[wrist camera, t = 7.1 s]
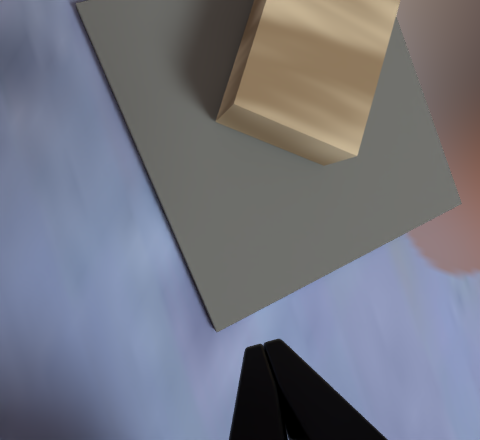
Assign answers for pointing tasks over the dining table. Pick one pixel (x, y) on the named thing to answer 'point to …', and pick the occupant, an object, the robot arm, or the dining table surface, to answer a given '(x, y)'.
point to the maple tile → (308, 74)
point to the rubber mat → (260, 157)
